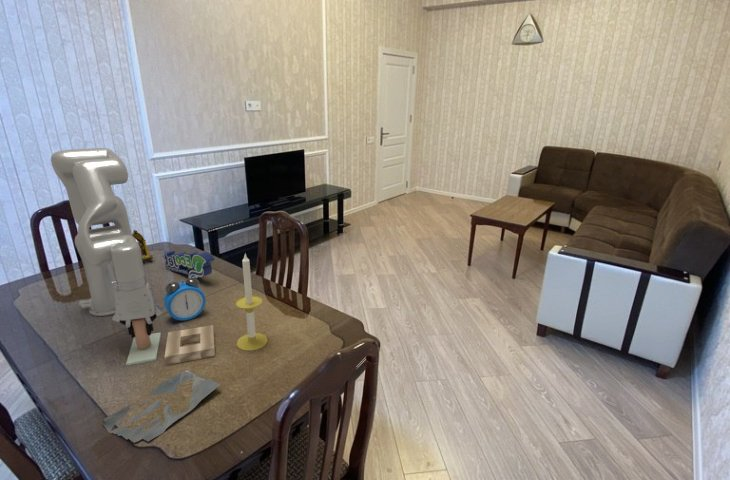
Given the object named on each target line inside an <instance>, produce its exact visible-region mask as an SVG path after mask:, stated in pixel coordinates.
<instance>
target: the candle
mask: <svg viewBox="0 0 730 480" xmlns="http://www.w3.org/2000/svg"><path fill="white" fill-rule="evenodd" d="M241 261H242V273H243V282H244V283H243V284H244V296H242V297H240V298H238V299H236V301H235V306H236V307H237V308H238V309H241V310H245V314H246V315H245V316H246V328H247V329H246V330H247V334H244V335H242V336H241V337H240V338H238V340H237V341H236V346H237V348H239V349H240V350H242V351H247V352H254V351H257V350H260V349H262V348H263V347H265V346H266V345H267V344H268V341H269V340H268V337H267V336H266V335H265V334H264V333H260V332H256V322H255V320H256V319H255V308H258V307H260V306H261V305H262V303H263V302H264V301H263V298H262V297H260V296H257V295H253V290H252V278H251V277H252V276H251V265H250V264H251V263H250V259H249V258H248V257H247V254H246V253H244V256H243V259H242V260H241Z"/></svg>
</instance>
